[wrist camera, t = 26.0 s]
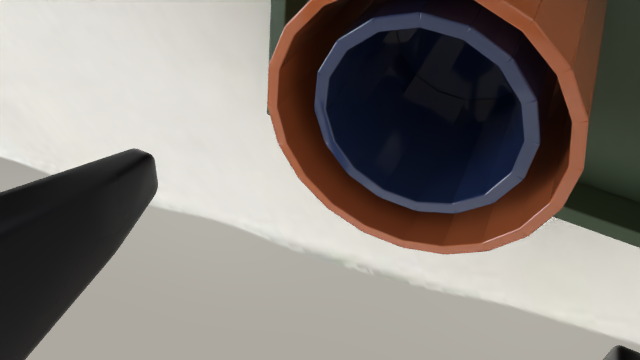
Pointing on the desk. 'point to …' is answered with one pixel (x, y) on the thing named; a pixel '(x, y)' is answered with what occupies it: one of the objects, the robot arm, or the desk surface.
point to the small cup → (434, 103)
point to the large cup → (427, 227)
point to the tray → (605, 130)
